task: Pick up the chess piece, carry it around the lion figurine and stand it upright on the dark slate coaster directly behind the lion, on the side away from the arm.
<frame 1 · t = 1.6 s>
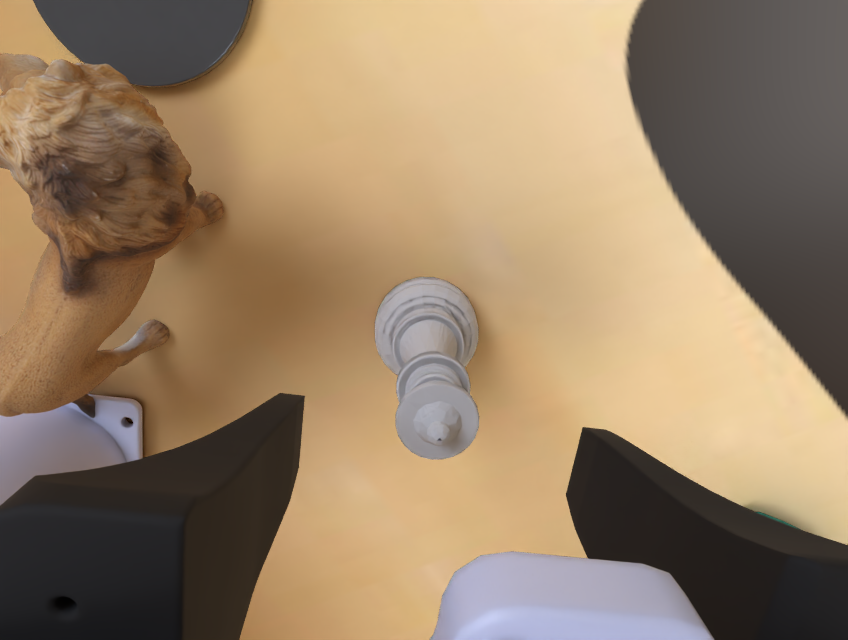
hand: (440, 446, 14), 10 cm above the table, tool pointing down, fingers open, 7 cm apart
lion figurine: (141, 249, 23), on the table, touching arm
chess piece: (425, 323, 24), on the table
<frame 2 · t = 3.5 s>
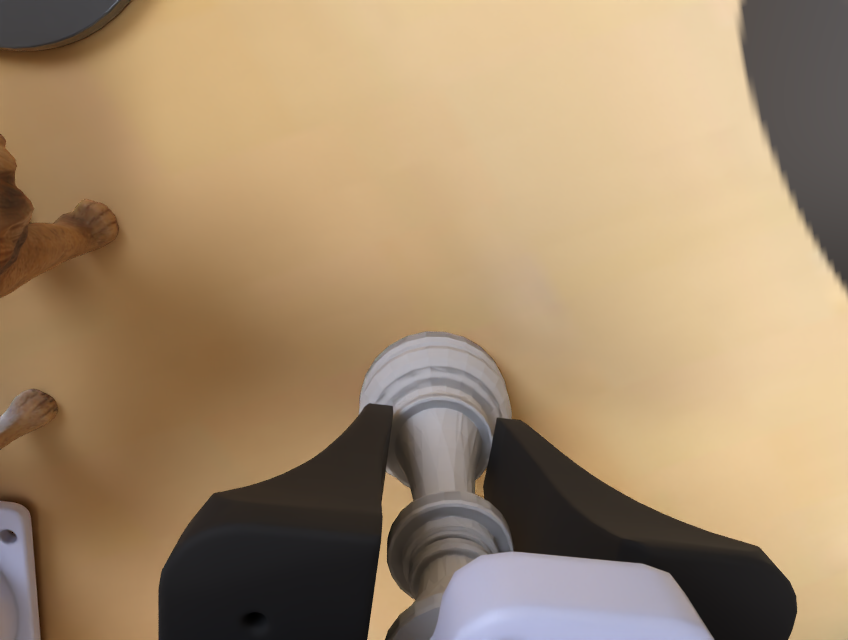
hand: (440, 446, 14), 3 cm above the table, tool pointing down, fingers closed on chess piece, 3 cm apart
lion figurine: (6, 288, 16), on the table, touching arm
chess piece: (432, 395, 17), on the table, touching gripper
when the fingers open (3 cm above the table, at t = 8.6 s): chess piece stays where it is, resting on coaster.
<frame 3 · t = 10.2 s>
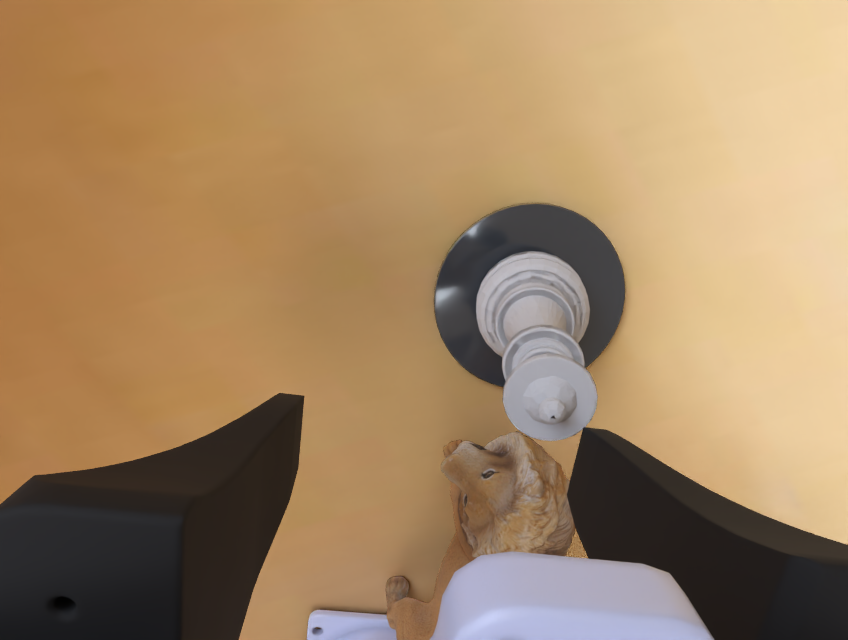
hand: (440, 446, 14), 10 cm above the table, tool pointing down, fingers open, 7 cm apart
lion figurine: (453, 495, 26), on the table, touching arm
coaster: (528, 299, 23), on the table
chess piece: (529, 301, 22), point 1 cm above the table, touching coaster, gripper
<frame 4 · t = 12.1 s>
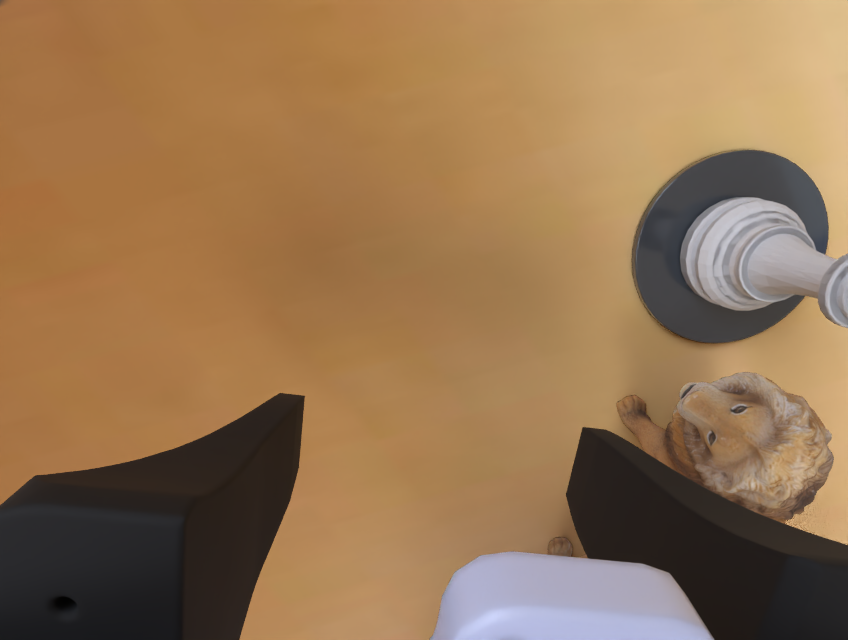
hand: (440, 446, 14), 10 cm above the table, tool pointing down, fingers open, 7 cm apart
lion figurine: (620, 453, 26), on the table, touching arm
coaster: (726, 250, 23), on the table
chess piece: (728, 250, 22), resting on coaster
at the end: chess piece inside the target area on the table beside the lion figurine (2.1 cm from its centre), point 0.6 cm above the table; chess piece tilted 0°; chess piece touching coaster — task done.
